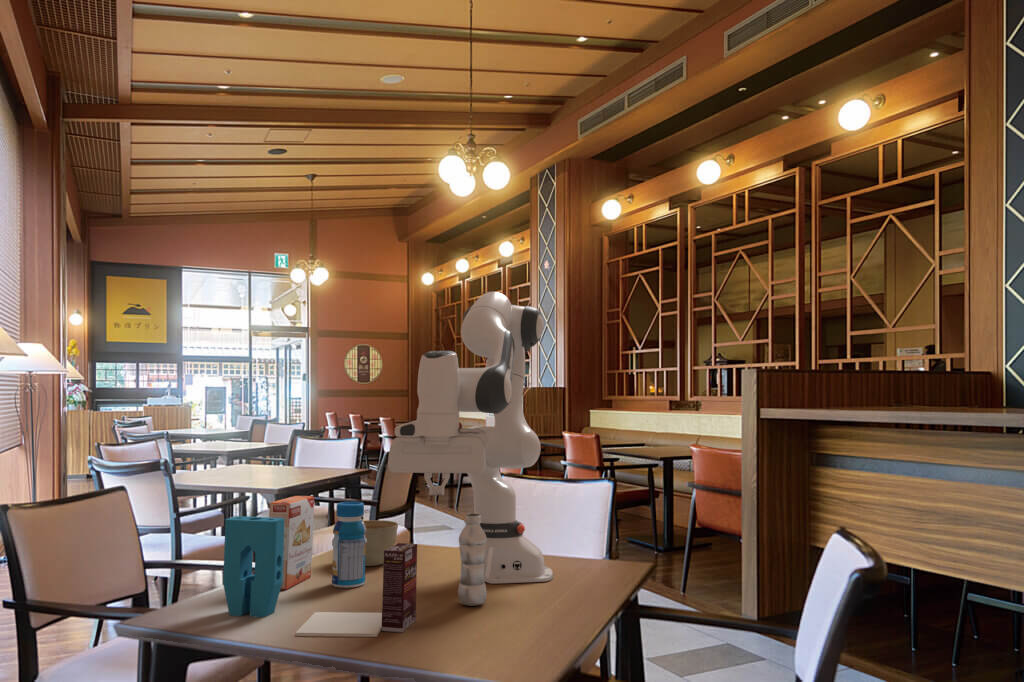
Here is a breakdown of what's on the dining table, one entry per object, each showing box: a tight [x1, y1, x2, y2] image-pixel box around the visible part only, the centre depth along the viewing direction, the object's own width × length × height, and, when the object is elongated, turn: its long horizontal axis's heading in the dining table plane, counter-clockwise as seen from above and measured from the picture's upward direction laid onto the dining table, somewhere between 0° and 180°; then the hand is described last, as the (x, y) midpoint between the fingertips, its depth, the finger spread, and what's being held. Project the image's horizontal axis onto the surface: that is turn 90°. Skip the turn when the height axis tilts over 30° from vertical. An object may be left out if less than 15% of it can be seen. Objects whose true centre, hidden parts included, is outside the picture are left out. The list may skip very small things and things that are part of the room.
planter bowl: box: [363, 519, 399, 567], centre depth 207 cm, size 16×16×11 cm
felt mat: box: [294, 611, 382, 638], centre depth 150 cm, size 16×14×1 cm
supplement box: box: [380, 542, 418, 634], centre depth 150 cm, size 9×5×16 cm, turn 170°
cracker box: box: [268, 495, 315, 591], centre depth 185 cm, size 14×6×21 cm, turn 170°
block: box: [222, 515, 285, 618], centre depth 159 cm, size 12×5×20 cm, turn 79°
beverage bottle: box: [331, 501, 367, 589], centre depth 184 cm, size 8×8×20 cm
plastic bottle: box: [457, 513, 488, 607], centre depth 166 cm, size 6×7×20 cm
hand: (436, 495), depth 152 cm, fingers closed
